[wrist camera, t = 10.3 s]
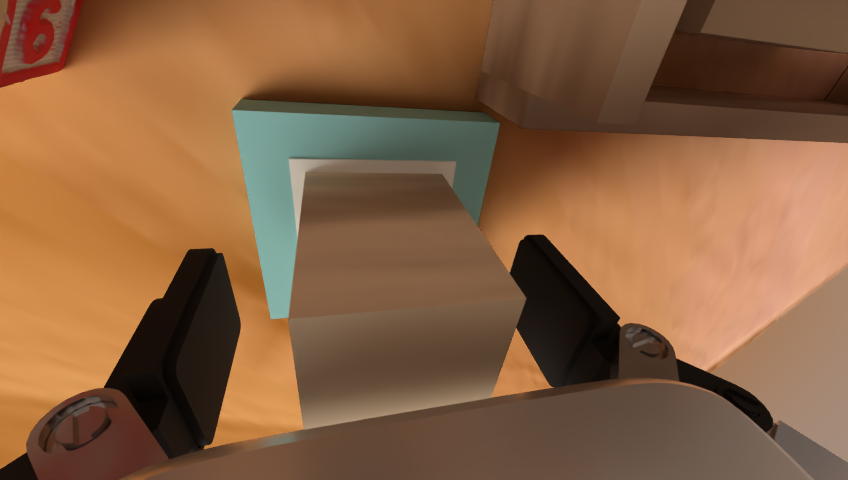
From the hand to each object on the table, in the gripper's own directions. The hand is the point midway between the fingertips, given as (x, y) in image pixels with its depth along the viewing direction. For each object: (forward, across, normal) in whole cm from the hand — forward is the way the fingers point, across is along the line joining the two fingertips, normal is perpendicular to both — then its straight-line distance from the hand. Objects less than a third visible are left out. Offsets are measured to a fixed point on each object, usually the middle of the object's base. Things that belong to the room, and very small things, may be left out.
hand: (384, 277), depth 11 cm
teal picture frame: (+5, 0, 0) cm, 5 cm away
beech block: (+3, 0, 0) cm, 3 cm away
